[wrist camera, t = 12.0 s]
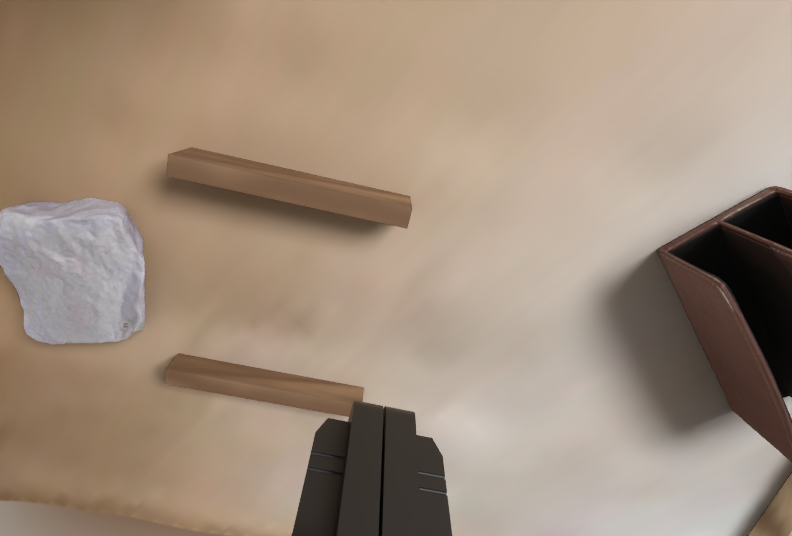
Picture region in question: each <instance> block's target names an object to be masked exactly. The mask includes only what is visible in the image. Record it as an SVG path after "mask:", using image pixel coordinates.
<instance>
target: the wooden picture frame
mask: <svg viewBox="0 0 792 536" xmlns="http://www.w3.org/2000/svg"><path fill="white" fill-rule="evenodd" d="M748 536H792V473H791V475H790V476H789V477H788V479H787V480H786V482H785V483H784V485H783V486H782V487H781V489H780V490H779V492H778V493H777V495H776V496H775V497H774V499H773V500H772V502H771V503H770V505H769V506H768V507H767V509H766V510H765V512H764V513H763V515H762V516H761V517H760V519H759V520H758V522H757V523H756V525H755V526H754V527H753V529H752V530H751V532H750V533H749V535H748Z"/></svg>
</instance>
